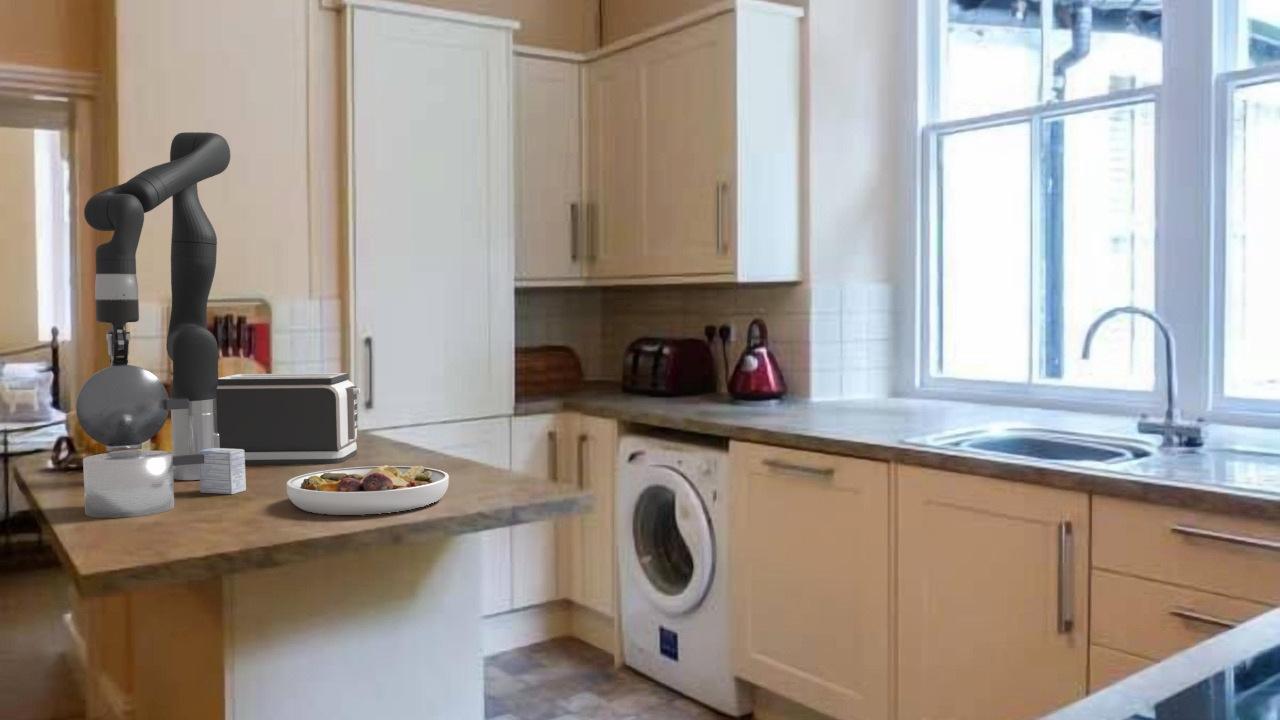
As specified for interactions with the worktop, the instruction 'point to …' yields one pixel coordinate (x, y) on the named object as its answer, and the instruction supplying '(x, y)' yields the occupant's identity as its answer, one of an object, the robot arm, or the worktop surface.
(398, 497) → the bowl
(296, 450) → the toaster
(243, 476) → the medicine box
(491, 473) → the worktop surface
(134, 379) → the lid
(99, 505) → the cooker pot
